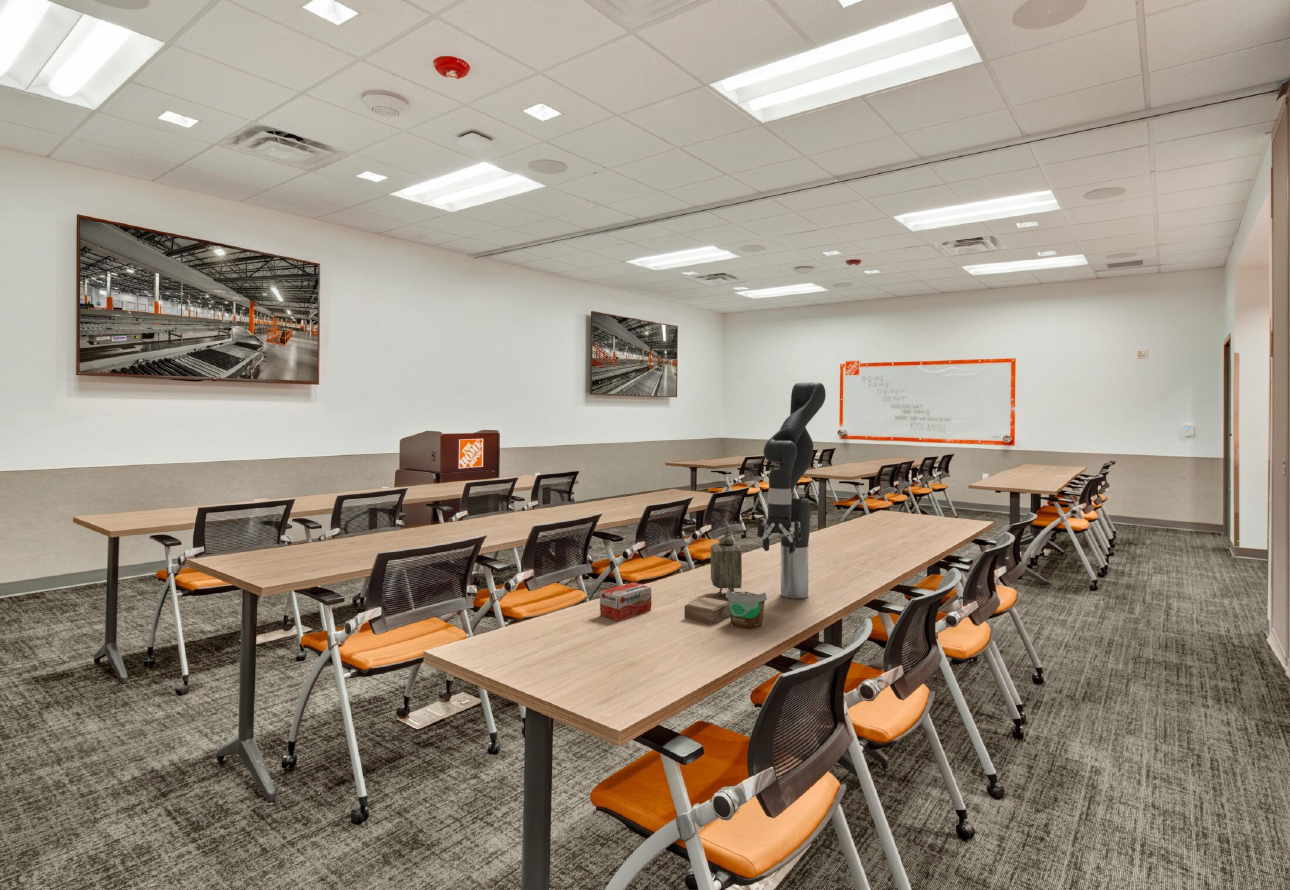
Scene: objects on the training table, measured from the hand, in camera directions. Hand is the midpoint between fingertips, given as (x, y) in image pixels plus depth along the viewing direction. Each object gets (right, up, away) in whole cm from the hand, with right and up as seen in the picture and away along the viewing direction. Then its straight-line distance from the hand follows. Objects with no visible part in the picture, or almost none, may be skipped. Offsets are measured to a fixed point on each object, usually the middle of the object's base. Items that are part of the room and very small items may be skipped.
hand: (778, 552), depth 211 cm
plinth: (-24, -18, -12) cm, 32 cm away
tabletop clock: (-16, -17, +11) cm, 26 cm away
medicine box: (-49, -18, -8) cm, 53 cm away
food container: (-15, -18, -22) cm, 32 cm away
